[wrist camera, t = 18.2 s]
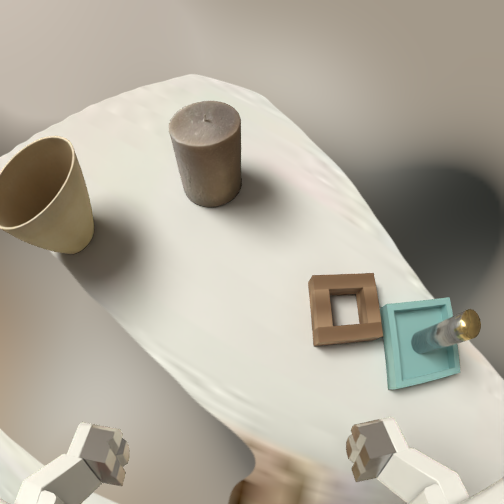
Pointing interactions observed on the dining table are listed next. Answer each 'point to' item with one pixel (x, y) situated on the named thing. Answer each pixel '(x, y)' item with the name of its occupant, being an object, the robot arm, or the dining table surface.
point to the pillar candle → (208, 151)
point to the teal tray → (400, 349)
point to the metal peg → (447, 332)
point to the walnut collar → (366, 306)
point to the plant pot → (46, 197)
